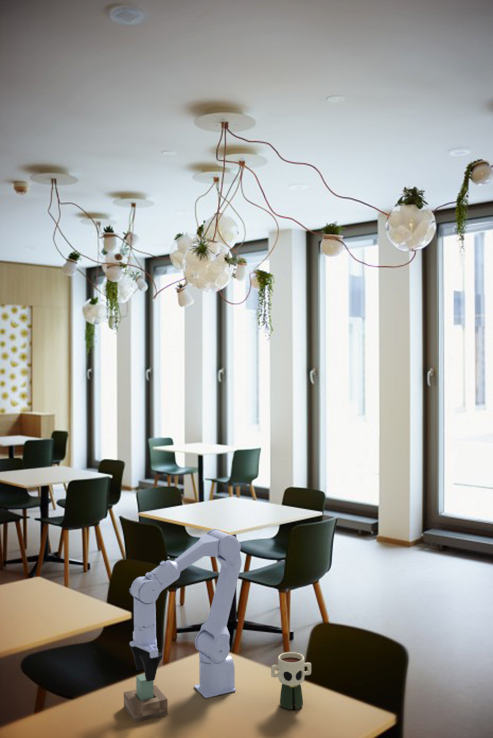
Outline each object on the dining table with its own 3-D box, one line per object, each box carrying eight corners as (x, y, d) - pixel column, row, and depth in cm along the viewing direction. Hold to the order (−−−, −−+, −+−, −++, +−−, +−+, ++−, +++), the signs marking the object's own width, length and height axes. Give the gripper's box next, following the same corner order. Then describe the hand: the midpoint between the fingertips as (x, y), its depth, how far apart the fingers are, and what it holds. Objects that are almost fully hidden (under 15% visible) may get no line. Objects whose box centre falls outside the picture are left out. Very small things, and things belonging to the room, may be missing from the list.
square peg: (149, 702, 194) (148, 673, 194) (153, 708, 191) (153, 678, 191) (136, 705, 193) (136, 675, 192) (140, 711, 190) (140, 681, 189)
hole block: (155, 699, 198) (155, 685, 198) (167, 714, 190) (167, 699, 190) (123, 707, 194) (123, 692, 194) (134, 722, 186) (134, 706, 186)
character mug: (273, 713, 190) (273, 664, 190) (268, 700, 197) (268, 653, 197) (314, 710, 191) (314, 661, 191) (308, 697, 199) (308, 650, 198)
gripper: (121, 617, 197) (122, 667, 197) (139, 636, 184) (140, 689, 184) (146, 613, 200) (147, 661, 200) (165, 630, 187) (166, 683, 187)
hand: (145, 674), depth 192 cm, fingers open, 7 cm apart
